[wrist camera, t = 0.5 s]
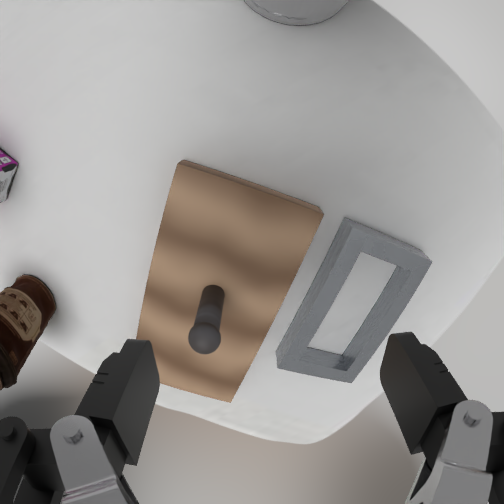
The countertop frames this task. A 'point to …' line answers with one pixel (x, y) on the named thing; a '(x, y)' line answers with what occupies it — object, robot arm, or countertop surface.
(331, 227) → the countertop surface
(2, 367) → the coffee cup
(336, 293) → the grey picture frame
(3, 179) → the candy bar box
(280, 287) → the board
